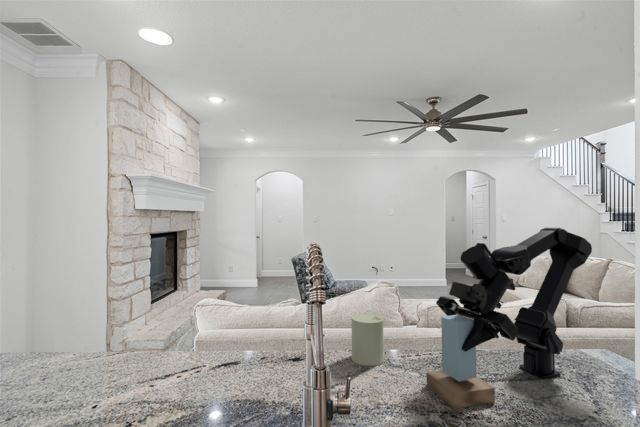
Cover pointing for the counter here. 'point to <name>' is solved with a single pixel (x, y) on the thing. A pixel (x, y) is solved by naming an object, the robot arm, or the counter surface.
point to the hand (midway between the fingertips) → (453, 345)
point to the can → (367, 339)
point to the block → (457, 348)
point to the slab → (460, 390)
